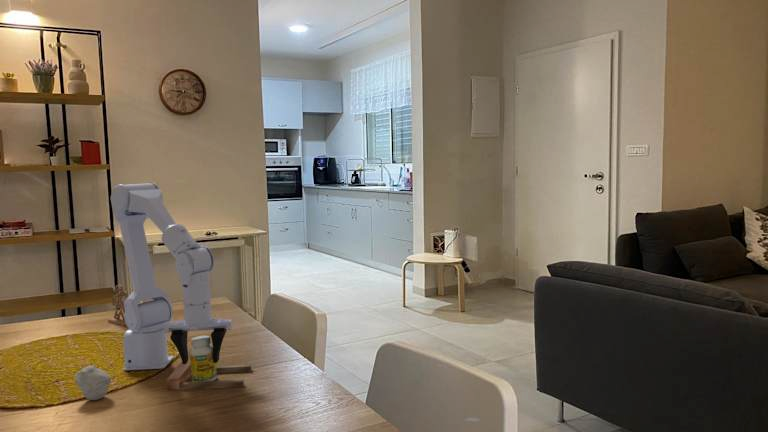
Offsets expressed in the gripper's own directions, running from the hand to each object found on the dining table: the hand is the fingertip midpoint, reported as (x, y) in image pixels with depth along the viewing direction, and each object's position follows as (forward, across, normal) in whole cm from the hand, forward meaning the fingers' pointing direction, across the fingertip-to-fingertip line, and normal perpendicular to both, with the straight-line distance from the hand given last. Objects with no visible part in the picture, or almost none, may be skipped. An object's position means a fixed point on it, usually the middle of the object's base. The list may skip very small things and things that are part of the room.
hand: (200, 362), depth 129 cm
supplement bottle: (+4, +1, 0) cm, 4 cm away
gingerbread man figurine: (+4, -38, +52) cm, 65 cm away
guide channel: (+4, +2, 0) cm, 5 cm away
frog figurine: (+4, -20, -8) cm, 22 cm away
